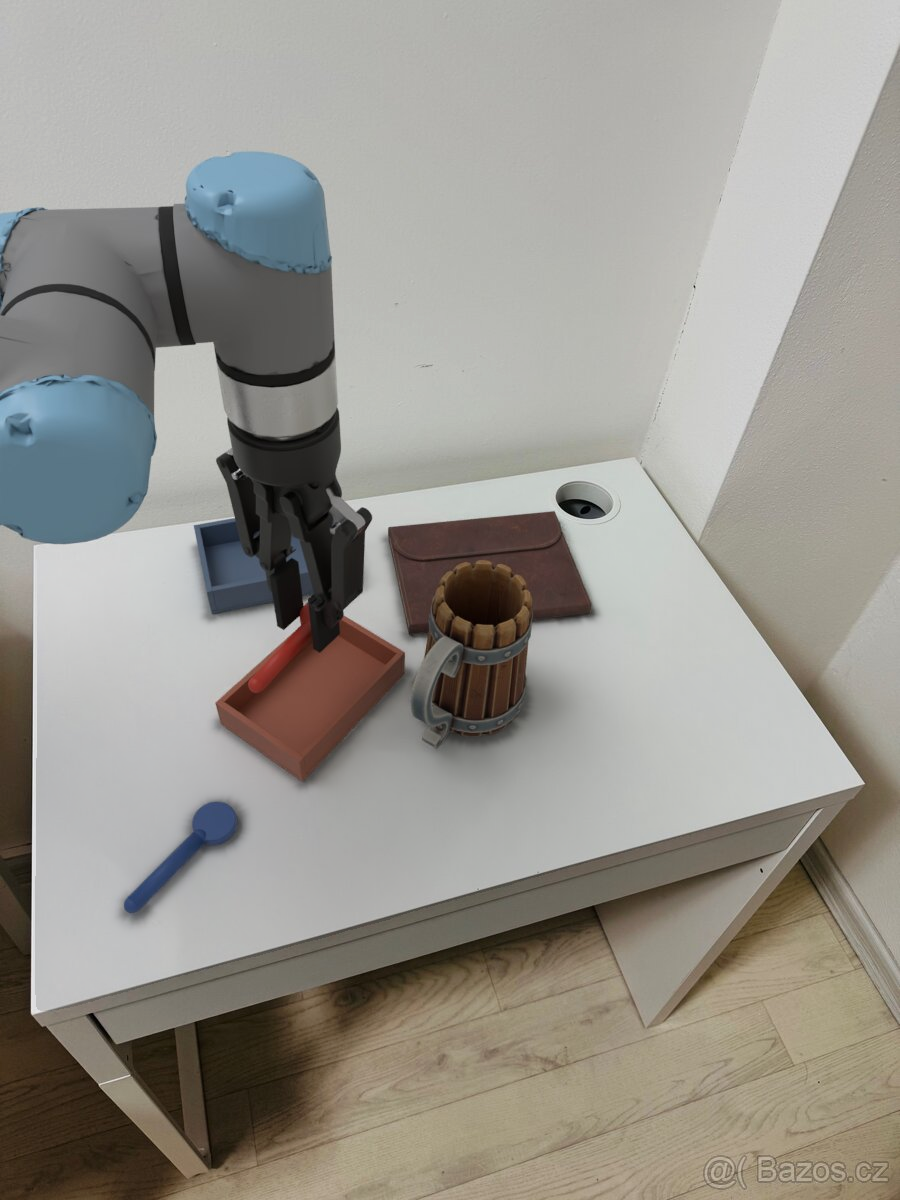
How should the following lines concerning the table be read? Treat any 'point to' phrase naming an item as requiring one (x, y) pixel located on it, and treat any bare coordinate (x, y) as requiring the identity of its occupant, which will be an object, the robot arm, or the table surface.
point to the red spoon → (283, 654)
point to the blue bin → (237, 568)
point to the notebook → (505, 540)
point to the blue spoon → (186, 850)
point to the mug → (474, 653)
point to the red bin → (313, 698)
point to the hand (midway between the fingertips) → (308, 629)
